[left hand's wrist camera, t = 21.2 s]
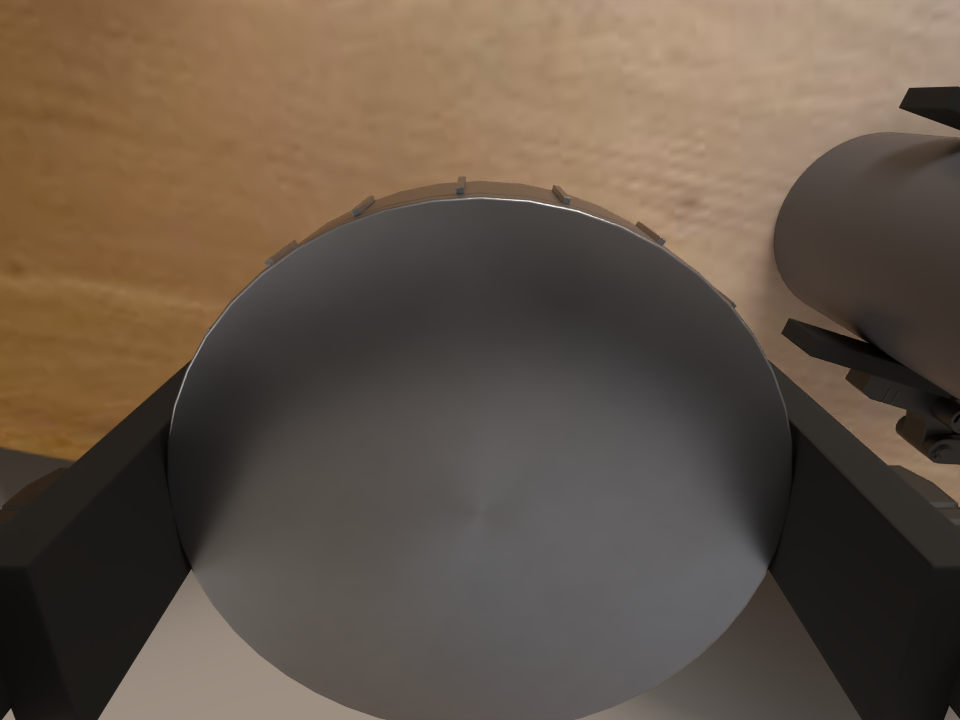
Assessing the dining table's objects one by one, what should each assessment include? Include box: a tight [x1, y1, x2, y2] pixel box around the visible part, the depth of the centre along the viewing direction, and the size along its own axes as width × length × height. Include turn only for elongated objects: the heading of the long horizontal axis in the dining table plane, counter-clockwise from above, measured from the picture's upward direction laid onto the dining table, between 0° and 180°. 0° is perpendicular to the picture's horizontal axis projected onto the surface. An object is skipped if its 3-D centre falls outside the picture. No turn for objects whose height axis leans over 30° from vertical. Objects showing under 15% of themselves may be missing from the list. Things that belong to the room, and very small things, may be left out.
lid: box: [167, 177, 793, 720], centre depth 11 cm, size 10×10×2 cm
